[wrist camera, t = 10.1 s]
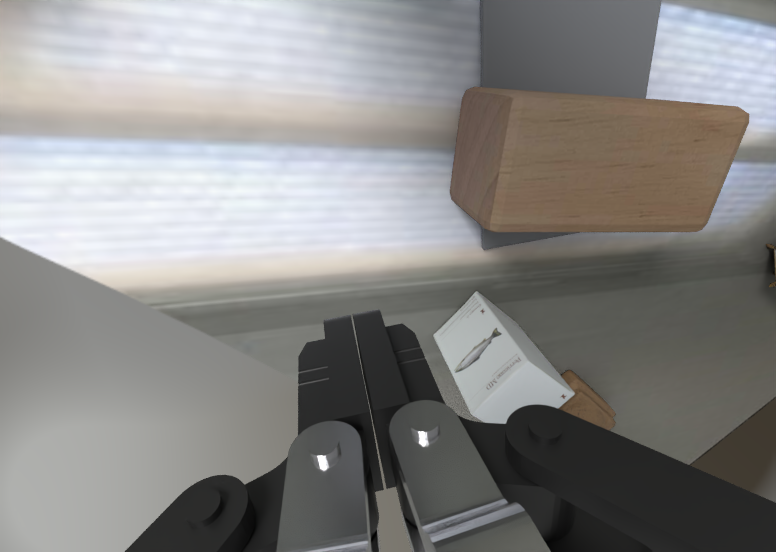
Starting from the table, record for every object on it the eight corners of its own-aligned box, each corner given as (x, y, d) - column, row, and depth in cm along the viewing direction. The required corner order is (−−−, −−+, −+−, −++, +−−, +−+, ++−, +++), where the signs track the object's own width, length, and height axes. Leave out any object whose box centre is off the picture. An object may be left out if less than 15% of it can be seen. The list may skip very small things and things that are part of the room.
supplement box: (475, 288, 46) (531, 358, 35) (516, 321, 49) (579, 395, 38) (430, 334, 48) (469, 415, 37) (472, 363, 51) (520, 446, 40)
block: (511, 91, 27) (761, 108, 31) (459, 85, 36) (659, 99, 40) (485, 236, 31) (708, 236, 35) (445, 199, 40) (626, 202, 44)
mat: (480, -32, 33) (483, -34, 32) (664, -51, 35) (669, -53, 34) (481, 247, 44) (484, 249, 43) (621, 222, 46) (625, 224, 45)
